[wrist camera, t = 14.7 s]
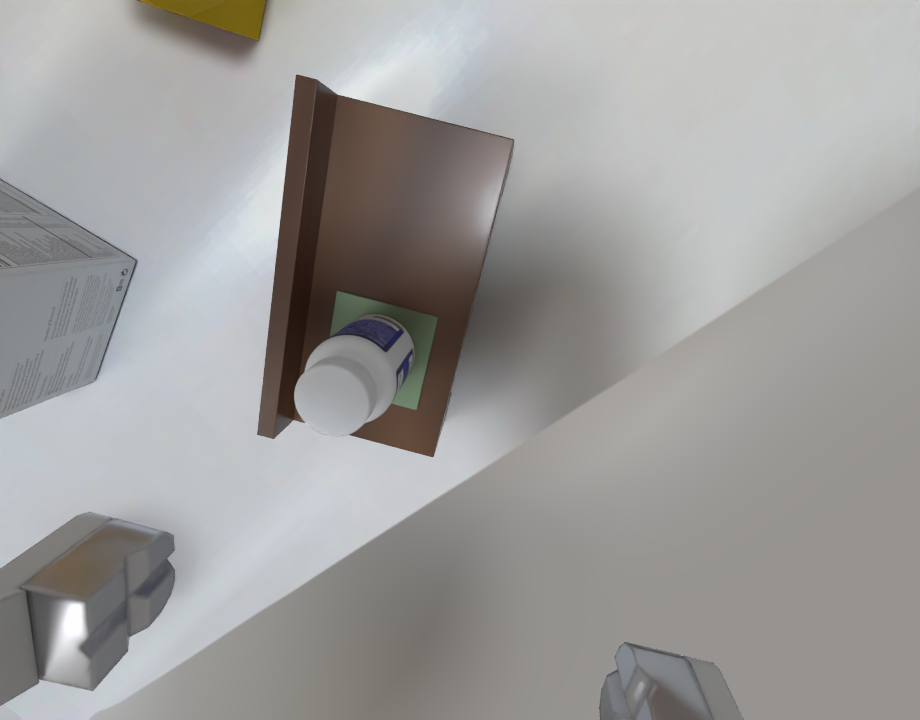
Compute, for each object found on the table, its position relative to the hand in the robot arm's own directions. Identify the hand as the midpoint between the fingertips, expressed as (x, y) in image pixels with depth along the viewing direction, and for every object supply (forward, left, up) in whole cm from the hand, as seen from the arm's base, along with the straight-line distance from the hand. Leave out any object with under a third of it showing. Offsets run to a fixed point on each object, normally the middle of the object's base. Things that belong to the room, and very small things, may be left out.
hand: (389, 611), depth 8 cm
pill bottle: (+6, +4, -23) cm, 24 cm away
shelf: (+6, 0, -29) cm, 30 cm away
